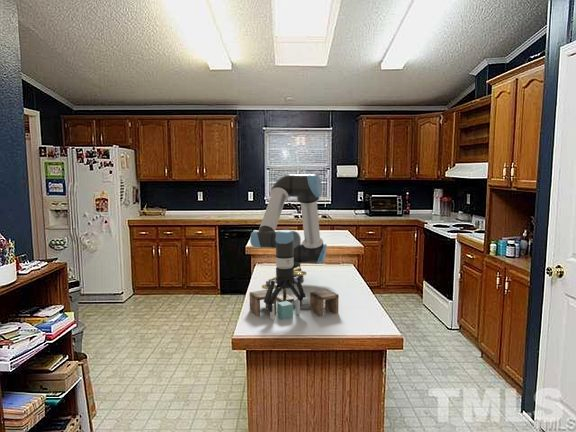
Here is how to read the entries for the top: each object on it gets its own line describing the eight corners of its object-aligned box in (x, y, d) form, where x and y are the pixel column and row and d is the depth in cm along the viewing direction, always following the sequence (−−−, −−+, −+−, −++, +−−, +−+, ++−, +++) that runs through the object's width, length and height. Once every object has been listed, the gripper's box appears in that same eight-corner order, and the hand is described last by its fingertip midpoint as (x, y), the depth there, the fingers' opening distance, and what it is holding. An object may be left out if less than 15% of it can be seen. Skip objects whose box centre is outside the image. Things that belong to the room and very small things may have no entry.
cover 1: (249, 310, 180) (249, 292, 179) (267, 307, 184) (267, 289, 183) (257, 317, 172) (257, 297, 171) (276, 313, 176) (276, 294, 175)
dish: (287, 303, 189) (287, 301, 189) (309, 299, 194) (309, 297, 194) (299, 311, 178) (299, 308, 178) (322, 306, 184) (322, 304, 184)
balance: (259, 301, 192) (258, 270, 190) (301, 294, 203) (301, 264, 201) (266, 306, 185) (265, 273, 183) (309, 298, 196) (309, 267, 194)
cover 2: (310, 310, 179) (310, 292, 178) (327, 307, 183) (327, 289, 182) (321, 317, 171) (321, 297, 170) (338, 313, 175) (338, 294, 174)
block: (277, 316, 173) (277, 302, 172) (287, 314, 175) (287, 300, 174) (282, 319, 168) (282, 306, 168) (292, 317, 171) (292, 304, 170)
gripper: (262, 272, 160) (263, 324, 163) (313, 265, 171) (313, 314, 174) (255, 268, 167) (256, 318, 169) (304, 262, 178) (305, 309, 180)
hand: (285, 316), depth 171 cm, fingers open, 12 cm apart
